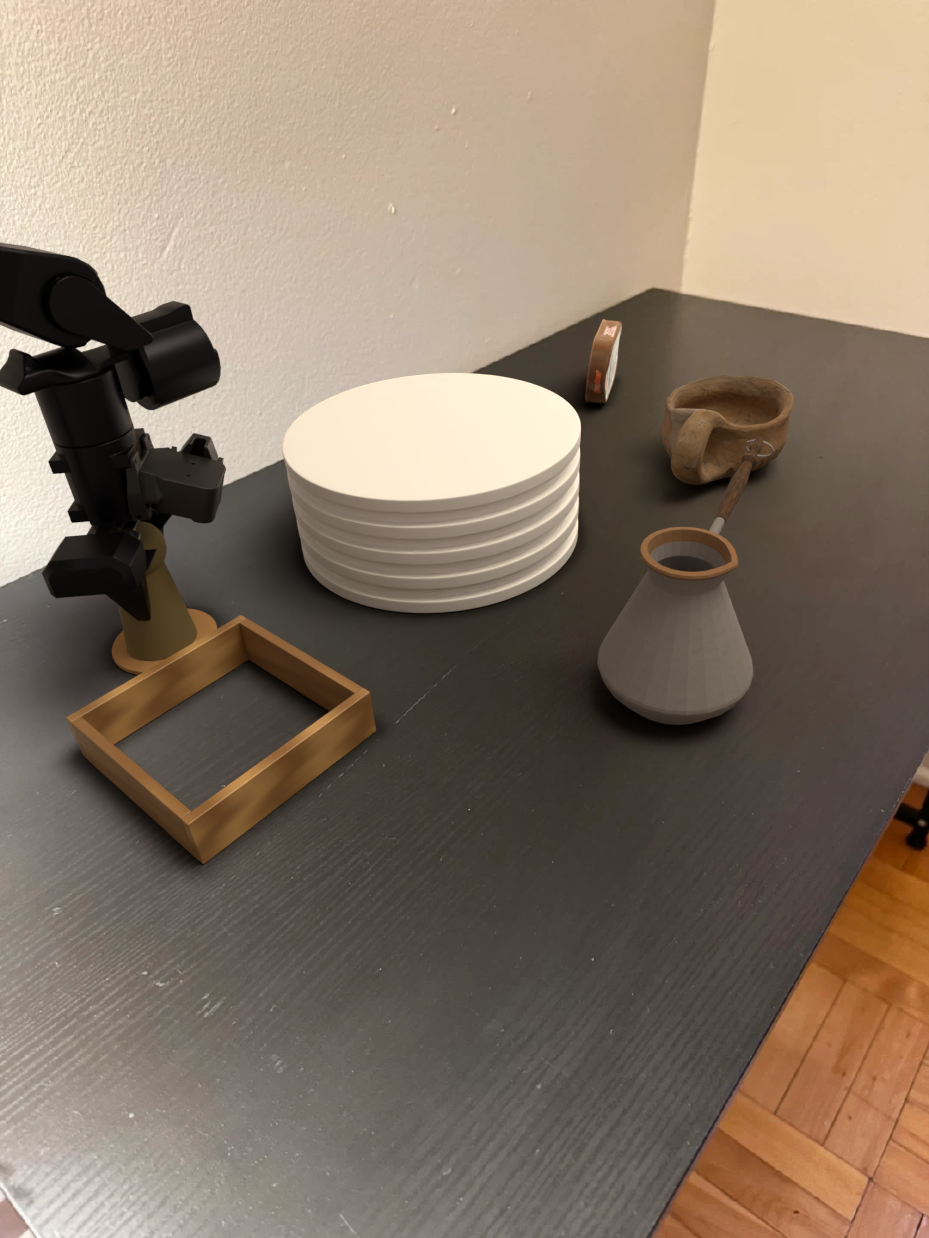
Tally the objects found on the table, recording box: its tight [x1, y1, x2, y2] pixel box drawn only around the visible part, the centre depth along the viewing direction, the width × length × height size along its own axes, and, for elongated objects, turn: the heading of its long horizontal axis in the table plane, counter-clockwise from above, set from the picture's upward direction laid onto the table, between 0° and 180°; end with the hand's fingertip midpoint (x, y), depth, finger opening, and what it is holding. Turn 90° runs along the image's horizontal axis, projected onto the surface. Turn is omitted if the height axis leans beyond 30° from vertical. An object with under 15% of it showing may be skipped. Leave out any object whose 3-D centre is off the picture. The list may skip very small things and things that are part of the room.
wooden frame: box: [65, 614, 377, 865], centre depth 62 cm, size 16×16×4 cm
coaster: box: [111, 607, 219, 676], centre depth 74 cm, size 9×9×1 cm
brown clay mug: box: [660, 374, 795, 486], centre depth 91 cm, size 18×14×10 cm
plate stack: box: [281, 372, 582, 614], centre depth 83 cm, size 28×28×12 cm
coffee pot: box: [596, 437, 774, 726], centre depth 64 cm, size 21×12×15 cm, turn 147°
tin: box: [584, 318, 623, 404], centre depth 111 cm, size 15×3×8 cm, turn 165°
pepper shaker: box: [118, 522, 197, 661], centre depth 70 cm, size 6×6×11 cm
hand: (151, 603), depth 71 cm, fingers closed on pepper shaker, 4 cm apart
